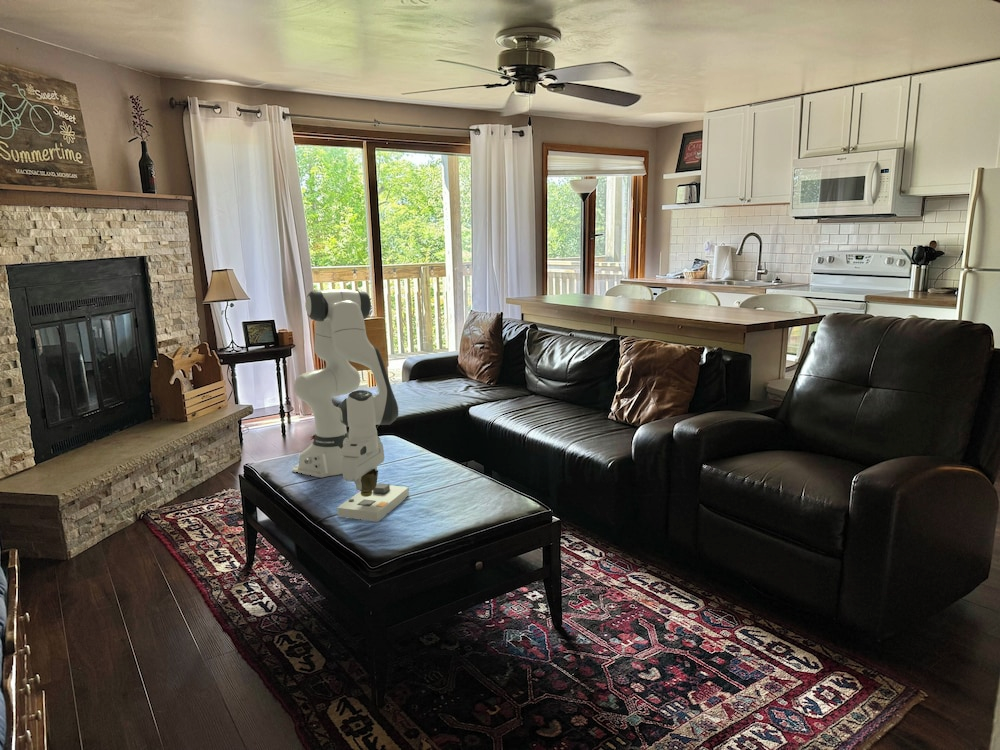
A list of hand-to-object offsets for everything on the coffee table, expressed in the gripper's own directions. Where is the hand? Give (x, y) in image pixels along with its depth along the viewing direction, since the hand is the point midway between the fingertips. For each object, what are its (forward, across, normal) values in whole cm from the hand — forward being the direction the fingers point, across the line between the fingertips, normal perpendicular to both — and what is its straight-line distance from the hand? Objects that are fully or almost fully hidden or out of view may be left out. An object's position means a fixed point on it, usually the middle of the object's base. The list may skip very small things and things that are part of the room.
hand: (365, 485), depth 207 cm
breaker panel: (+9, -5, 0) cm, 10 cm away
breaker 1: (+9, 0, 0) cm, 9 cm away
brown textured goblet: (+4, 0, 0) cm, 4 cm away
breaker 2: (+7, -10, 0) cm, 12 cm away
